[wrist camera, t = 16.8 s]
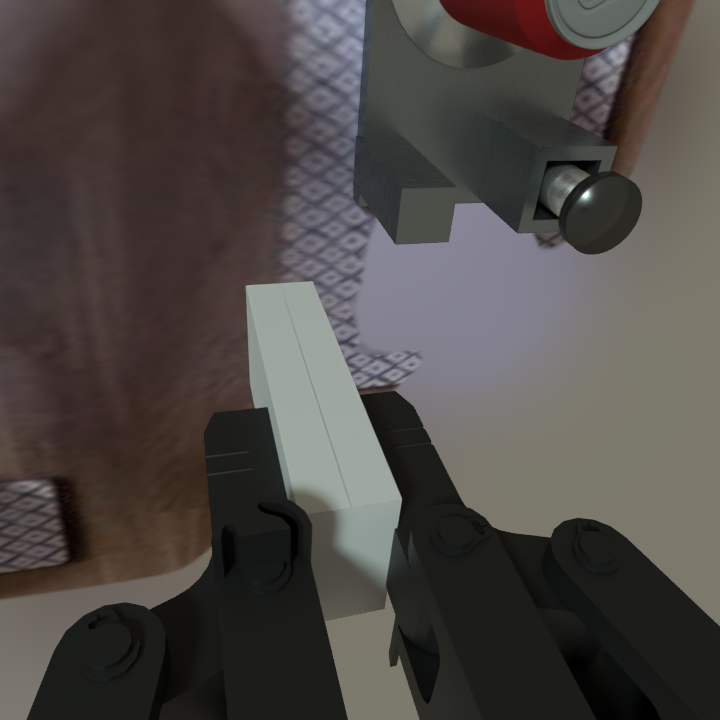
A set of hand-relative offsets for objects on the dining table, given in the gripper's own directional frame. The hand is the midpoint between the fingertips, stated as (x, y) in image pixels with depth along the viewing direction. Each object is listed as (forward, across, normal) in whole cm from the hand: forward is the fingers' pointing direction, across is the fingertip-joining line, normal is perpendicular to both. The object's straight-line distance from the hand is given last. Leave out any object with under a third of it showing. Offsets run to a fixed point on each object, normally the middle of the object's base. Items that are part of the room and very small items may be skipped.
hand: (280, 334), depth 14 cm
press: (+26, +16, +3) cm, 31 cm away
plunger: (+24, +20, -4) cm, 31 cm away
